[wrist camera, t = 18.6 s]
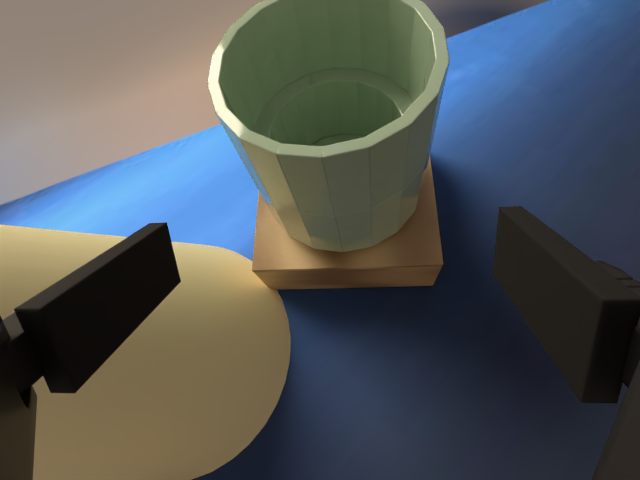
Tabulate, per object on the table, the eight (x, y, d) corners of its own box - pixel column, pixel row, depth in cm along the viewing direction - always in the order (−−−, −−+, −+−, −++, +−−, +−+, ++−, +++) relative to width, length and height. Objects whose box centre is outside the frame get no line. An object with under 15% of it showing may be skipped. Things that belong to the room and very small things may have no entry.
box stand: (418, 148, 34) (424, 109, 30) (433, 286, 29) (443, 264, 25) (278, 158, 36) (264, 122, 32) (269, 290, 31) (251, 270, 26)
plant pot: (413, 118, 30) (434, -37, 19) (428, 253, 25) (464, 147, 15) (274, 130, 31) (222, -8, 21) (264, 259, 27) (192, 166, 16)
